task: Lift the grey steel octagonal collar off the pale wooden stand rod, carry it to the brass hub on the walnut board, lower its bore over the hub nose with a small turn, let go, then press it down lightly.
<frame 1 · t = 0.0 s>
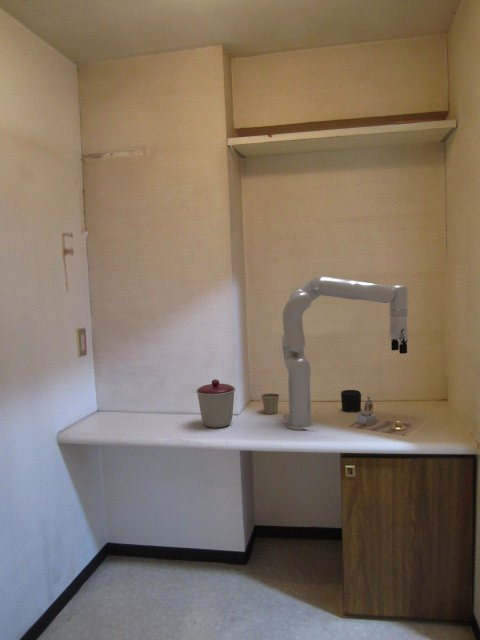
hand: (399, 351, 216), 31 cm above the table, tool pointing down, fingers open, 9 cm apart
steel ring: (366, 423, 213), point 1 cm above the table, touching walnut board
pocket watch: (373, 417, 226), on the table
canister: (217, 425, 224), on the table
pen holder: (351, 412, 235), on the table
flower pot: (270, 412, 241), on the table
walnut board: (382, 428, 208), on the table
brass hub: (398, 431, 204), resting on walnut board
stand rod: (366, 426, 213), resting on walnut board
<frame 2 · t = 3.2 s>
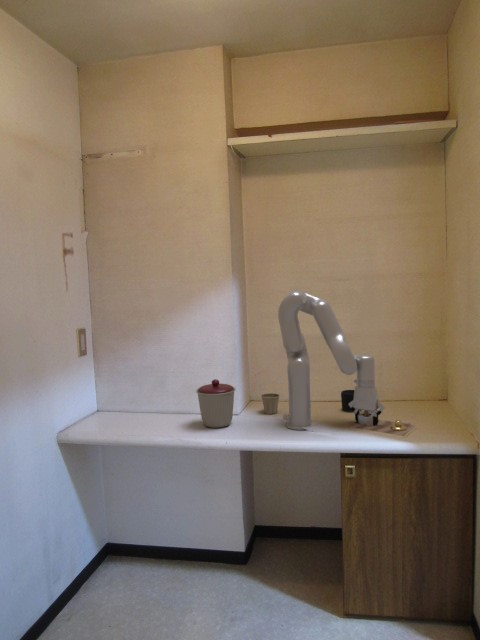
hand: (366, 423, 213), 1 cm above the table, tool pointing down, fingers closed on walnut board, 7 cm apart
nothing on the table moved.
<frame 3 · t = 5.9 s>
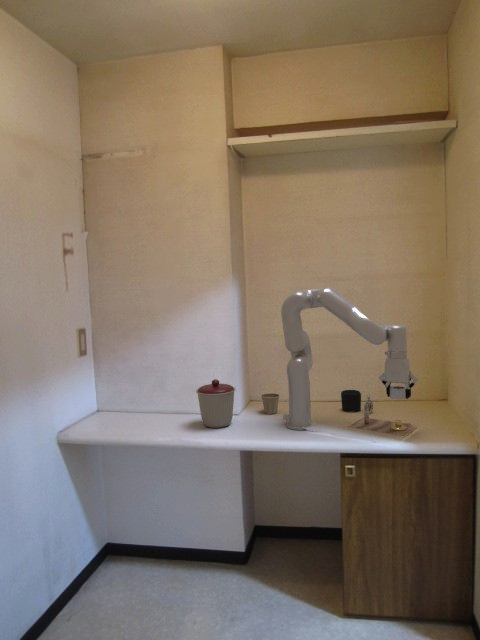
hand: (398, 396, 203), 15 cm above the table, tool pointing down, fingers closed on steel ring, 7 cm apart
steel ring: (398, 397, 203), point 15 cm above the table, touching gripper
everything else where it was.
when the fingers open (3 cm above the table, at t = 7.9 s): steel ring drops 1 cm, resting on brass hub.
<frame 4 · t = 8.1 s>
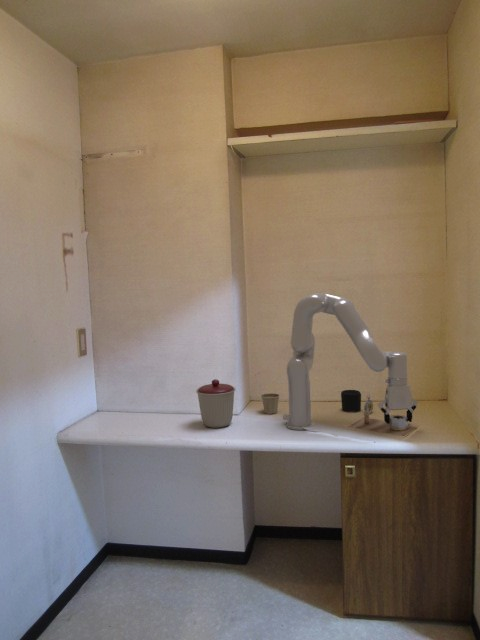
hand: (398, 422, 204), 4 cm above the table, tool pointing down, fingers open, 9 cm apart
steel ring: (398, 426, 204), point 2 cm above the table, touching brass hub
everything else where it was.
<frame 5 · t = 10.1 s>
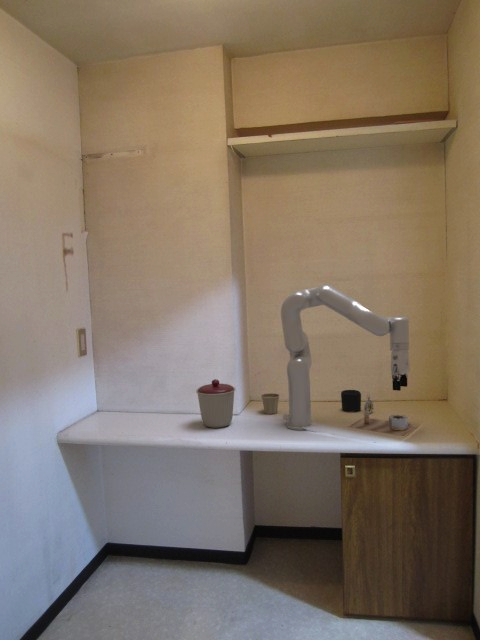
hand: (400, 388, 205), 18 cm above the table, tool pointing down, fingers open, 7 cm apart
nothing on the table moved.
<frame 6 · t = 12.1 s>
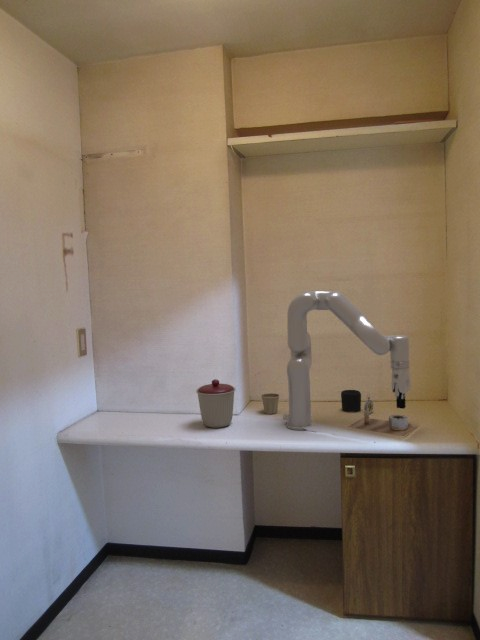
hand: (401, 407, 205), 9 cm above the table, tool pointing down, fingers closed
nothing on the table moved.
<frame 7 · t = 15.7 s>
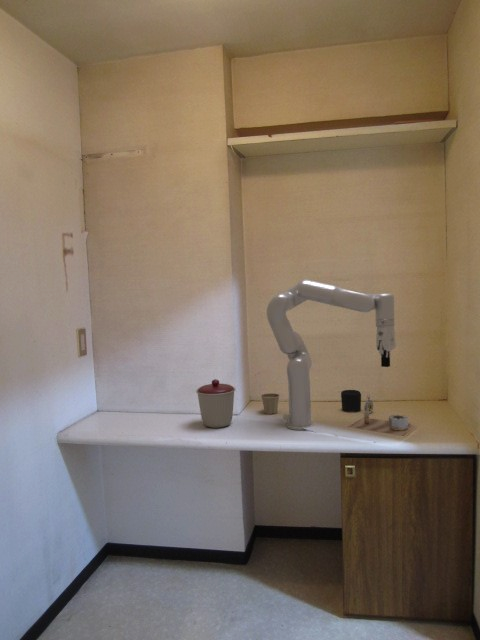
hand: (385, 366, 205), 27 cm above the table, tool pointing down, fingers closed
nothing on the table moved.
at the end: steel ring 0.1 cm off-centre on the brass hub, point 2.0 cm above the brass hub's base; steel ring tilted 0°; the gripper is holding nothing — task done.
